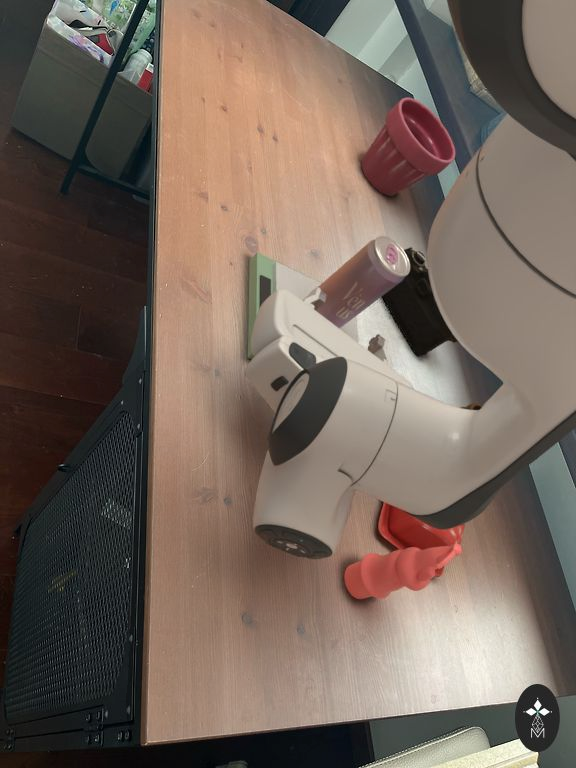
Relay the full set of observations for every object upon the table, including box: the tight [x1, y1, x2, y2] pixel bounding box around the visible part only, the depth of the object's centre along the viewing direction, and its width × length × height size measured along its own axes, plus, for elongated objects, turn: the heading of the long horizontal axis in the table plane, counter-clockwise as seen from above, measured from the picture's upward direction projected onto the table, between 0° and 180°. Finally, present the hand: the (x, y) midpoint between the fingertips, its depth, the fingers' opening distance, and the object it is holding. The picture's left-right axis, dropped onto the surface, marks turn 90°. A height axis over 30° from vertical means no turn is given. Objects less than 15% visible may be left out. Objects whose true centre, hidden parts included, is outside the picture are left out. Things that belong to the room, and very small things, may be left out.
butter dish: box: [377, 502, 466, 577], centre depth 78 cm, size 12×12×8 cm
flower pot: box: [360, 97, 456, 197], centre depth 113 cm, size 14×14×13 cm
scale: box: [246, 252, 360, 361], centre depth 83 cm, size 17×16×3 cm
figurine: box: [343, 543, 463, 600], centre depth 66 cm, size 5×5×15 cm
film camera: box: [381, 246, 459, 357], centre depth 99 cm, size 18×12×10 cm
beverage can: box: [302, 235, 410, 329], centre depth 77 cm, size 6×6×15 cm
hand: (349, 316), depth 72 cm, fingers open, 8 cm apart
